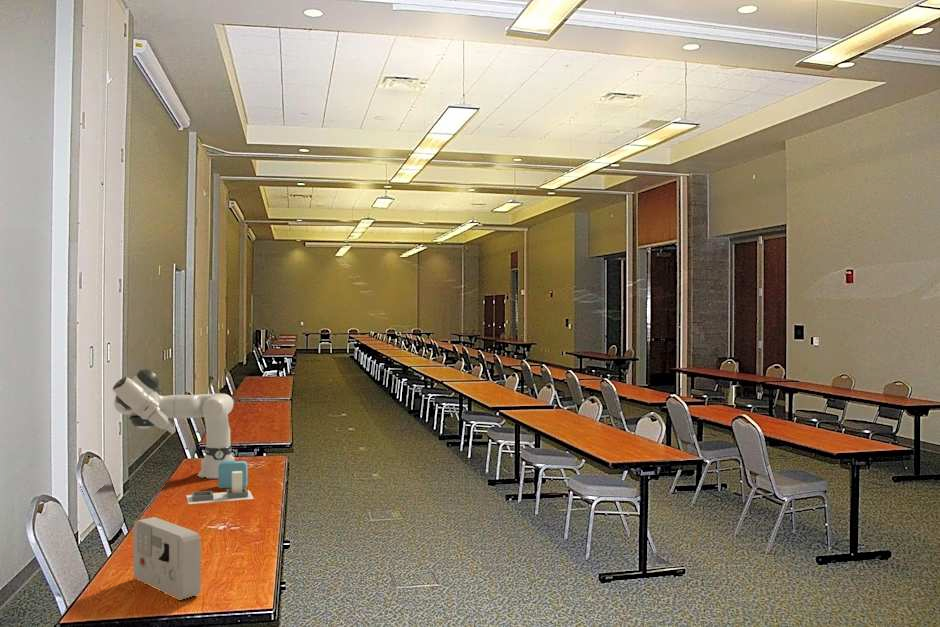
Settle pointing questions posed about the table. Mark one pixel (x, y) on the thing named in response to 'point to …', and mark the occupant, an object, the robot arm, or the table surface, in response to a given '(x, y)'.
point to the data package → (226, 473)
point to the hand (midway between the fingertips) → (173, 431)
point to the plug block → (237, 481)
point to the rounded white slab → (167, 557)
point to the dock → (218, 496)
